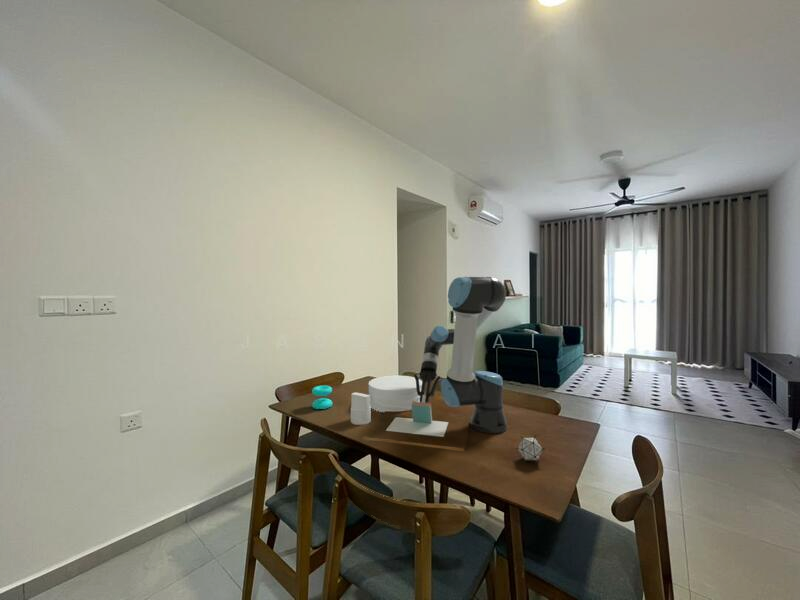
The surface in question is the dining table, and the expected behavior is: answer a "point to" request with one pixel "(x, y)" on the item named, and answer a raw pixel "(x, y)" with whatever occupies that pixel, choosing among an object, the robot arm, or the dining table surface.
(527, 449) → the game die
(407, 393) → the plate stack
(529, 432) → the dining table surface
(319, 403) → the donuts
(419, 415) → the teal rectangular slab
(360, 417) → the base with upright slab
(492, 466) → the dining table surface
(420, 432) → the cutting board
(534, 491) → the dining table surface
